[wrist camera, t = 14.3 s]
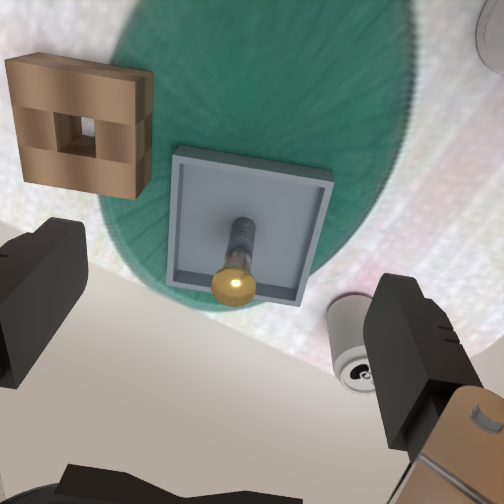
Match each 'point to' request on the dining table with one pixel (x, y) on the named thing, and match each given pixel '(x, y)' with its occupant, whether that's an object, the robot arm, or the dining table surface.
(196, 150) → the tray
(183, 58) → the dining table surface
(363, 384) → the can
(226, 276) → the pin
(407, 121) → the dining table surface
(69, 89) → the pin block
